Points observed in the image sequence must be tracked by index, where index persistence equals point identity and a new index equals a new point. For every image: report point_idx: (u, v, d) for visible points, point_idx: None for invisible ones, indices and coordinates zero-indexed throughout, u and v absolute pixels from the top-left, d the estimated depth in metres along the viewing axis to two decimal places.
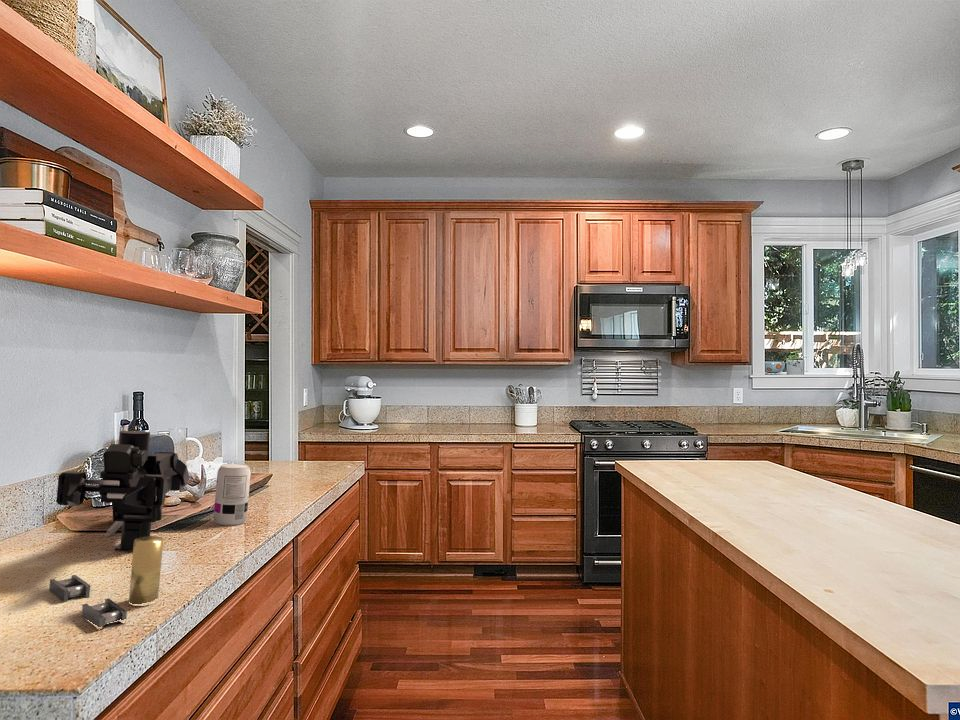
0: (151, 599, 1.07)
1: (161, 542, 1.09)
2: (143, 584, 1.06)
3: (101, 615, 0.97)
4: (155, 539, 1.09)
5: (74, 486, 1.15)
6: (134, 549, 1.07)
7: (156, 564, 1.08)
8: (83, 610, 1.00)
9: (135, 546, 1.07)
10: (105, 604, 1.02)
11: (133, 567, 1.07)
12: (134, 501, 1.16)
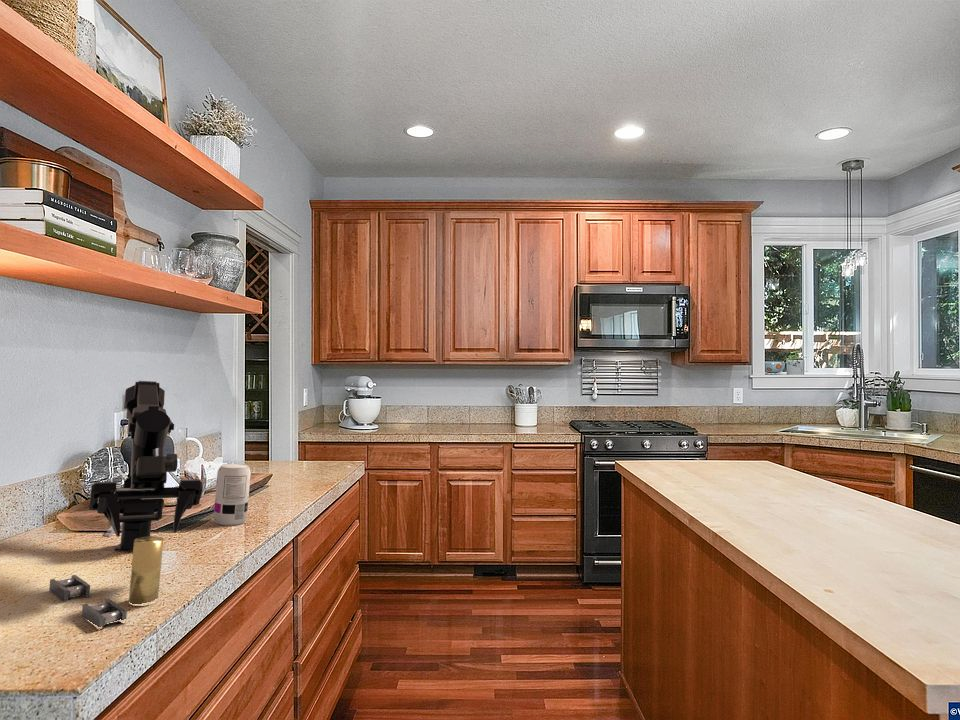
0: (151, 599, 1.07)
1: (161, 542, 1.09)
2: (143, 584, 1.06)
3: (101, 615, 0.97)
4: (156, 539, 1.09)
5: (115, 511, 1.11)
6: (134, 549, 1.07)
7: (156, 564, 1.08)
8: (83, 610, 1.00)
9: (135, 546, 1.07)
10: (105, 604, 1.02)
11: (133, 567, 1.07)
12: (179, 519, 1.18)
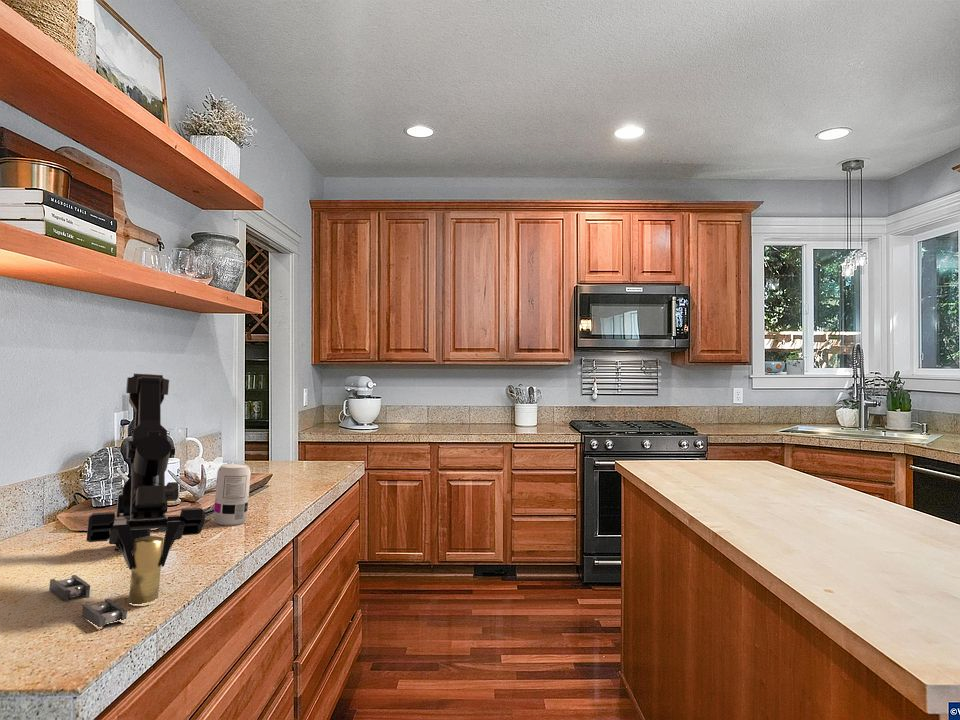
0: (151, 599, 1.07)
1: (161, 542, 1.09)
2: (143, 583, 1.06)
3: (101, 615, 0.97)
4: (156, 539, 1.09)
5: (127, 542, 1.07)
6: (134, 549, 1.07)
7: (156, 564, 1.08)
8: (83, 610, 1.00)
9: (135, 546, 1.07)
10: (105, 604, 1.02)
11: (133, 567, 1.07)
12: None
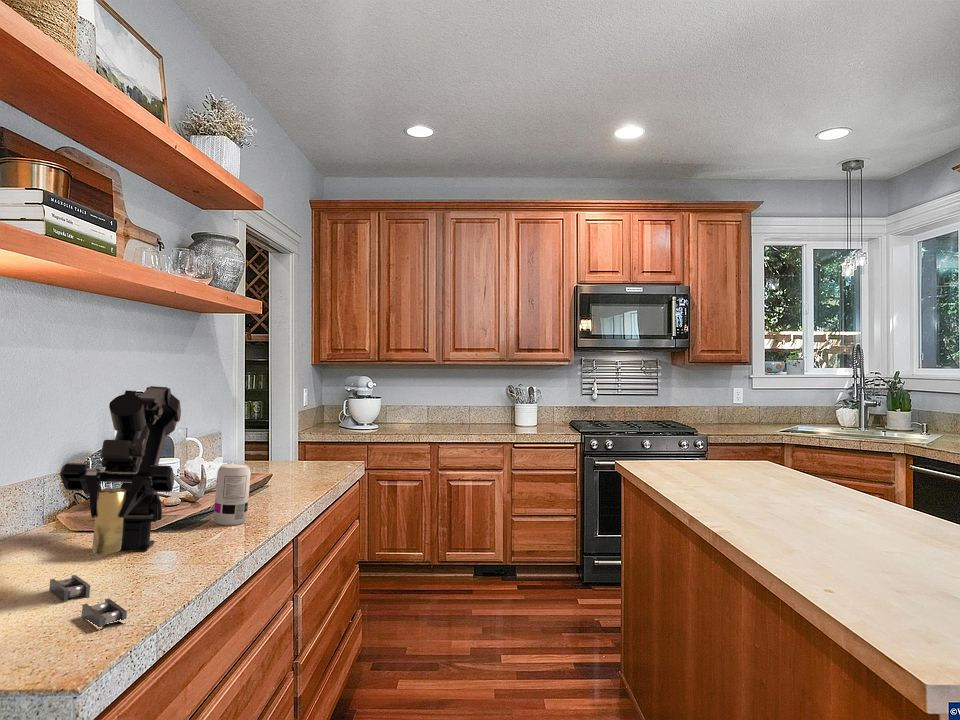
0: (110, 547, 1.12)
1: (121, 494, 1.13)
2: (102, 532, 1.12)
3: (101, 615, 0.97)
4: (118, 491, 1.14)
5: (93, 492, 1.14)
6: None
7: (115, 515, 1.13)
8: (83, 610, 1.00)
9: (97, 495, 1.12)
10: (105, 604, 1.02)
11: (95, 515, 1.12)
12: (133, 504, 1.16)
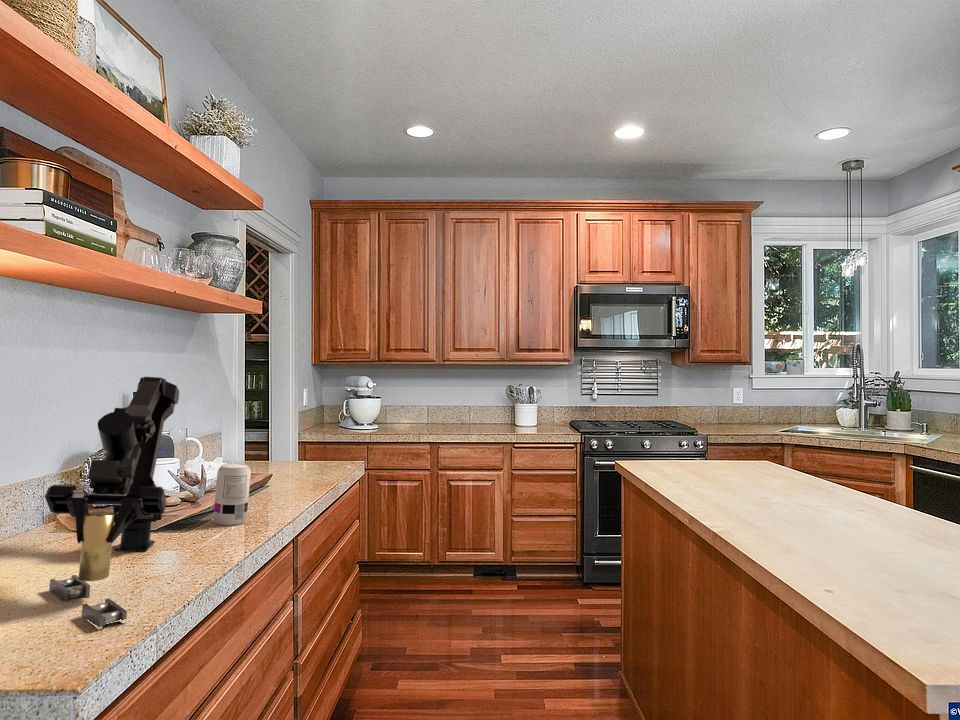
0: (97, 574, 1.06)
1: (109, 517, 1.07)
2: (88, 558, 1.06)
3: (101, 615, 0.97)
4: (105, 515, 1.08)
5: (80, 516, 1.08)
6: (83, 523, 1.07)
7: (103, 540, 1.07)
8: (83, 610, 1.00)
9: (84, 519, 1.07)
10: (105, 604, 1.02)
11: (82, 540, 1.07)
12: (122, 528, 1.10)
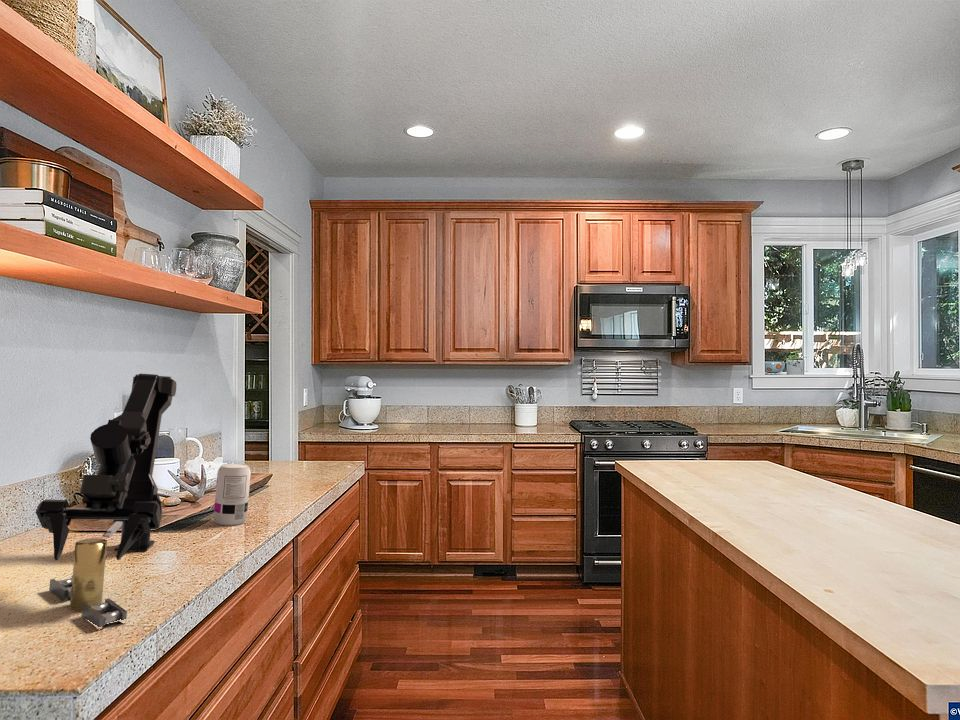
0: (89, 604, 1.03)
1: (101, 545, 1.04)
2: (80, 587, 1.02)
3: (101, 615, 0.97)
4: (98, 542, 1.05)
5: (57, 532, 1.04)
6: None
7: (95, 568, 1.03)
8: (83, 610, 1.00)
9: (75, 548, 1.03)
10: (105, 604, 1.02)
11: (73, 569, 1.03)
12: (129, 544, 1.08)
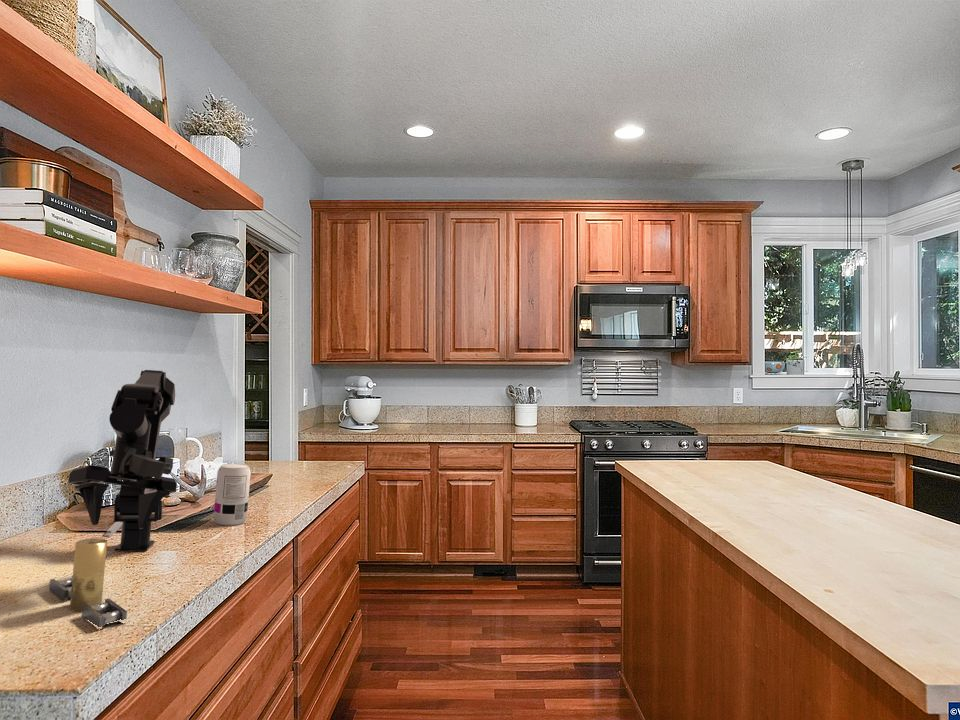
0: (89, 604, 1.03)
1: (101, 545, 1.04)
2: (80, 587, 1.02)
3: (101, 615, 0.97)
4: (98, 542, 1.05)
5: (99, 499, 1.12)
6: None
7: (95, 569, 1.03)
8: (83, 610, 1.00)
9: (75, 548, 1.03)
10: (105, 604, 1.02)
11: (73, 569, 1.03)
12: None
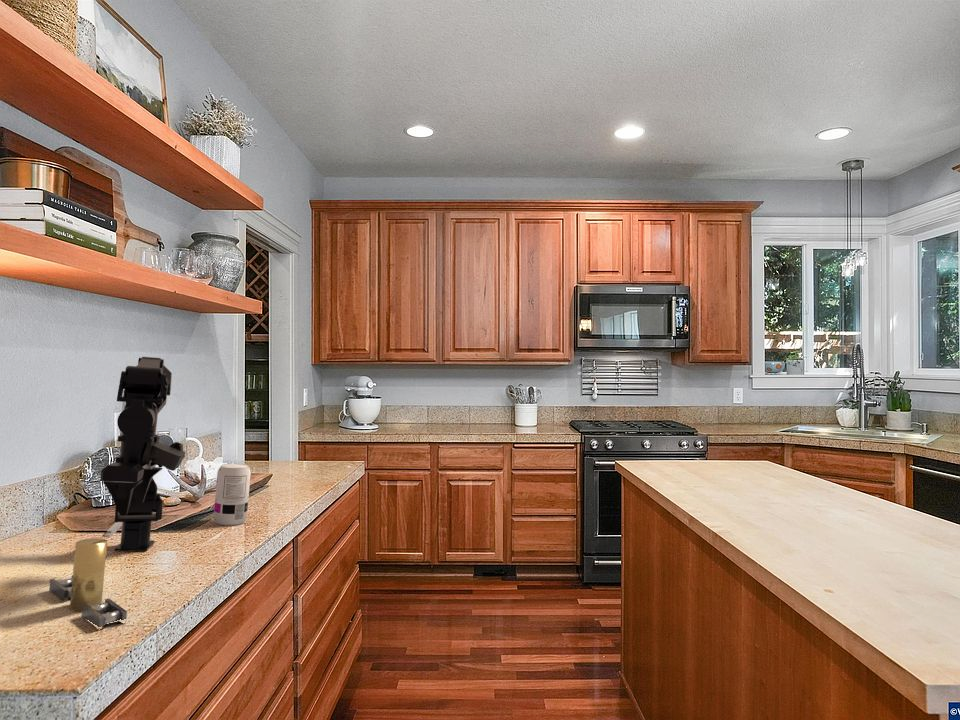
0: (89, 604, 1.03)
1: (102, 545, 1.04)
2: (80, 587, 1.02)
3: (101, 615, 0.97)
4: (98, 542, 1.05)
5: (131, 493, 1.15)
6: None
7: (95, 568, 1.03)
8: (83, 610, 1.00)
9: (75, 548, 1.03)
10: (105, 604, 1.02)
11: (73, 569, 1.03)
12: None
